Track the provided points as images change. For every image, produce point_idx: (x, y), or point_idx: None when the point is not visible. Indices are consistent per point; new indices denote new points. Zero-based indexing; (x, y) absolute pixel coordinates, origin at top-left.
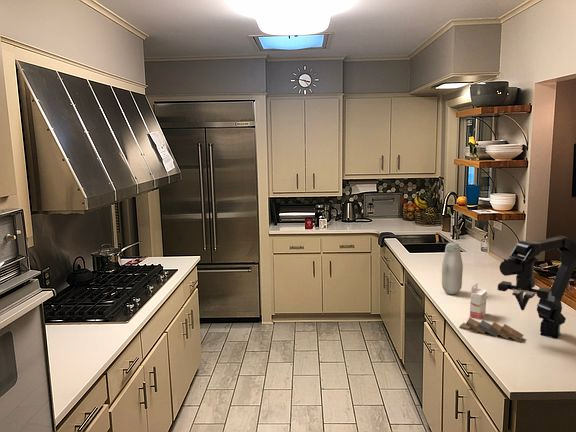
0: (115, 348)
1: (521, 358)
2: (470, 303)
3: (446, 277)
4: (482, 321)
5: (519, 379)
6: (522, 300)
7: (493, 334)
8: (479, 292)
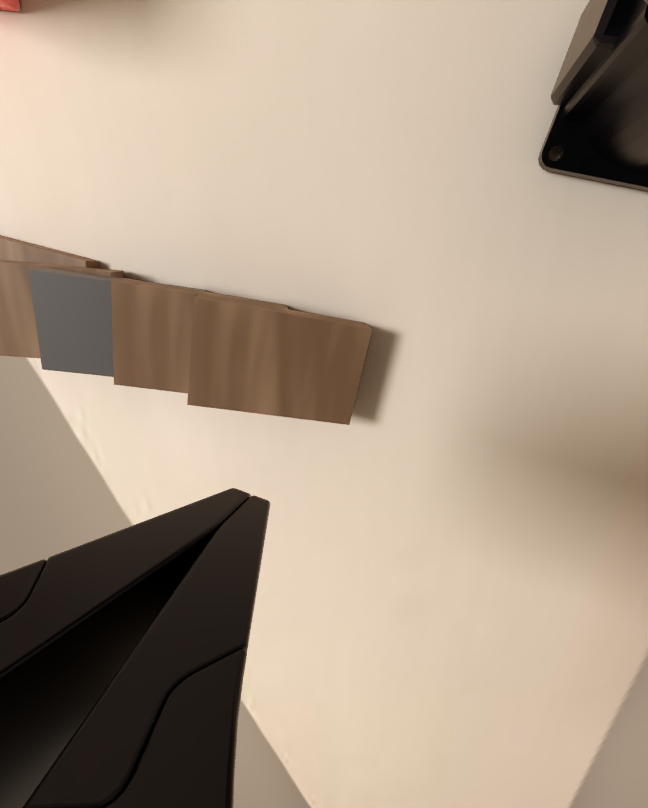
0: None
1: (357, 620)
2: None
3: None
4: (41, 300)
5: (347, 775)
6: (68, 695)
7: None
8: None
